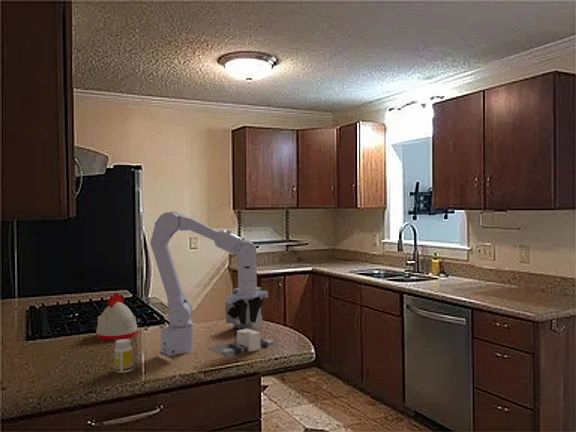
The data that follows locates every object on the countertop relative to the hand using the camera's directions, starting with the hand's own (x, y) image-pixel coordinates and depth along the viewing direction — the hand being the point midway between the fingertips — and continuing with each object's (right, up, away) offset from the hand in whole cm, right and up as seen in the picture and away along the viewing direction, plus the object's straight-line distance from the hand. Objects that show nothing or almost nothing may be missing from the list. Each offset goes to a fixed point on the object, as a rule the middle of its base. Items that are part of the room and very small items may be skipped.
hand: (248, 322), depth 164 cm
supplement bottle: (-34, -10, -17) cm, 39 cm away
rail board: (-1, -9, +2) cm, 9 cm away
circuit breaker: (-4, -8, +26) cm, 27 cm away
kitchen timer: (-48, -9, +22) cm, 54 cm away
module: (0, -8, 0) cm, 8 cm away
